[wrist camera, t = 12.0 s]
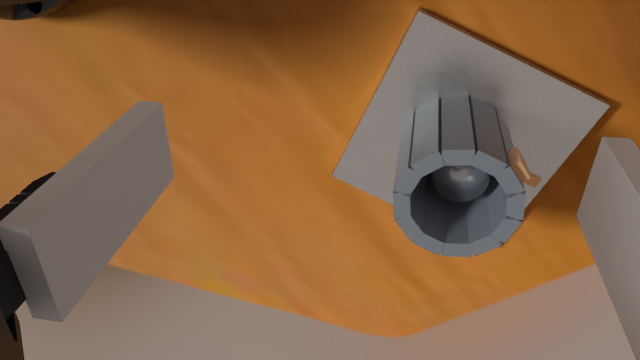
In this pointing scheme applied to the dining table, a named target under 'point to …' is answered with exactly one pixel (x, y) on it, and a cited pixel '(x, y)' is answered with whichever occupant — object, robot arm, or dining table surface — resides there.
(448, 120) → the sleeve
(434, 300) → the dining table surface
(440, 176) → the square plate
